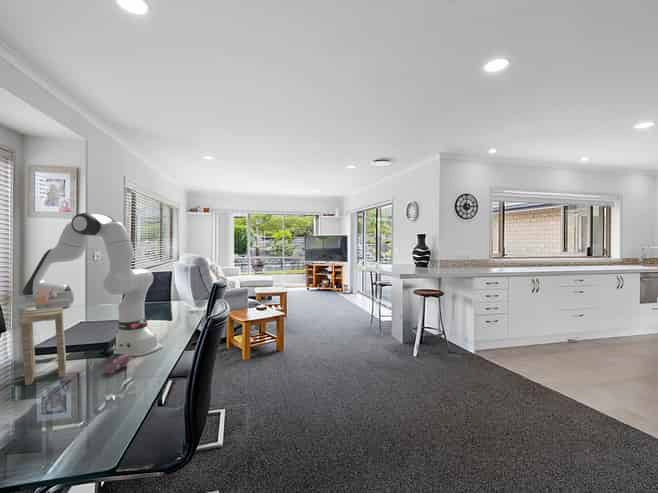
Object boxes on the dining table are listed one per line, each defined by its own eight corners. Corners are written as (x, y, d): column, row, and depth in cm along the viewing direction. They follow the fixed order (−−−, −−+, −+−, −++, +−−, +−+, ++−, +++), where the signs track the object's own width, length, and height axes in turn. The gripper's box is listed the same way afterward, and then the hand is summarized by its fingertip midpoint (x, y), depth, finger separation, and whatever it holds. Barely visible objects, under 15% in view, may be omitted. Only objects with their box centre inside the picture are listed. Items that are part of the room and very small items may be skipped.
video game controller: (111, 378, 135) (116, 363, 134) (102, 372, 136) (108, 358, 135) (129, 368, 145) (135, 354, 144) (121, 362, 146) (127, 349, 145)
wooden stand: (29, 372, 139) (25, 310, 137) (66, 364, 146) (62, 306, 145) (24, 386, 126) (20, 318, 125) (65, 377, 133) (61, 313, 132)
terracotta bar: (40, 296, 147) (40, 289, 147) (49, 295, 149) (49, 289, 149) (36, 305, 130) (35, 297, 129) (46, 304, 131) (45, 296, 131)
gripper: (17, 300, 150) (11, 289, 140) (74, 294, 162) (73, 283, 152) (16, 314, 147) (11, 303, 138) (74, 306, 160) (73, 296, 150)
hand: (44, 292), depth 145 cm, fingers closed on terracotta bar, 3 cm apart
